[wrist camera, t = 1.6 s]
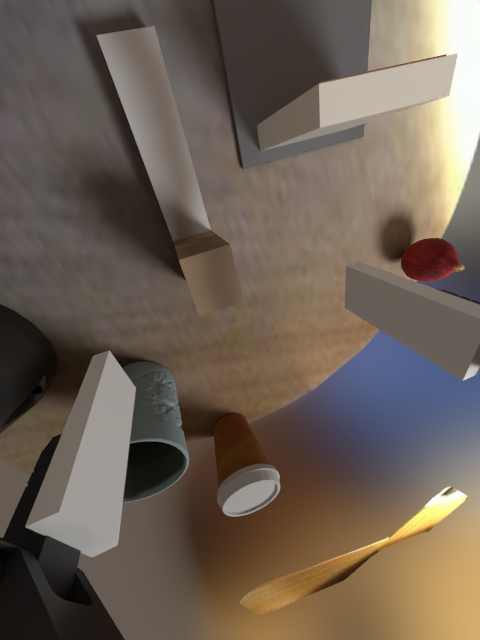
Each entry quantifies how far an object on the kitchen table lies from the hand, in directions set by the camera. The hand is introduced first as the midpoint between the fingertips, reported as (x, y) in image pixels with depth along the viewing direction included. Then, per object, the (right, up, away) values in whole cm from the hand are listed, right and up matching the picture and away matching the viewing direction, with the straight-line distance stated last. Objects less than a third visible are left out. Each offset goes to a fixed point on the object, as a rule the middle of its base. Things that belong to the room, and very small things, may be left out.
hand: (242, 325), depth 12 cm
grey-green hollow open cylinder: (-14, -9, +20) cm, 26 cm away
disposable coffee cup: (-2, -19, +30) cm, 35 cm away
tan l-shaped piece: (-6, +13, +10) cm, 18 cm away
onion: (+25, +10, +23) cm, 35 cm away
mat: (+5, +24, +8) cm, 25 cm away
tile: (+6, +19, +10) cm, 23 cm away
